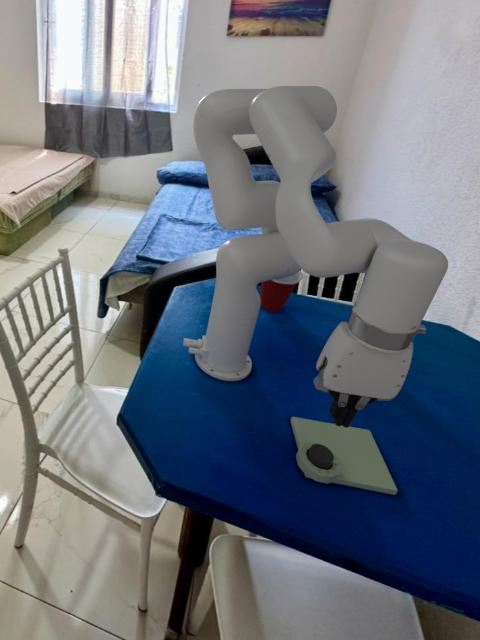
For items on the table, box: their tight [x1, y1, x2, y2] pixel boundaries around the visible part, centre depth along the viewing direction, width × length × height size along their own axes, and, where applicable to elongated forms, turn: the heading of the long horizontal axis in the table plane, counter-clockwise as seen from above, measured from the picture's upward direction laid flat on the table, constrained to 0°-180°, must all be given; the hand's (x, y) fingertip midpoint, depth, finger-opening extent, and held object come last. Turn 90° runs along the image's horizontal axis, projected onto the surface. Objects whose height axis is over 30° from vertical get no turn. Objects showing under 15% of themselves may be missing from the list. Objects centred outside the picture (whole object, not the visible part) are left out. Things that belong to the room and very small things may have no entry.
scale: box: [290, 416, 398, 496], centre depth 72 cm, size 15×13×3 cm
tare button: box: [308, 444, 334, 469], centre depth 69 cm, size 4×4×2 cm
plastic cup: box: [260, 270, 304, 313], centre depth 111 cm, size 11×11×12 cm
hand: (338, 419), depth 64 cm, fingers closed
